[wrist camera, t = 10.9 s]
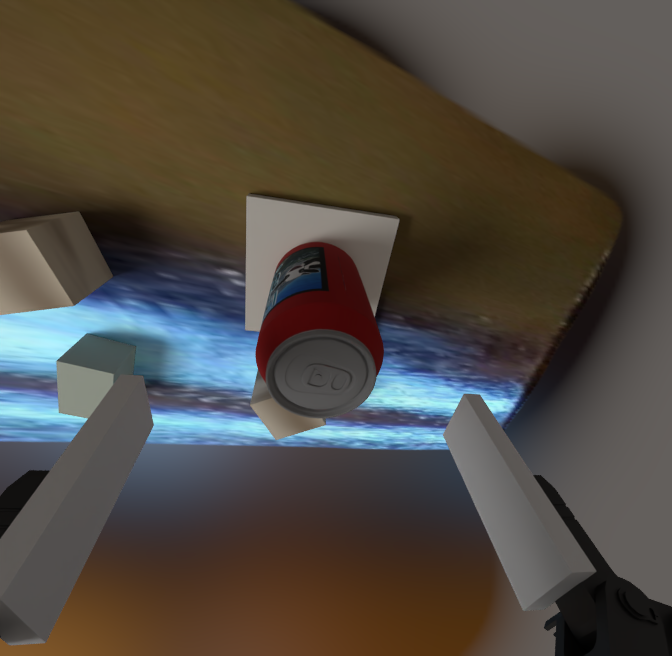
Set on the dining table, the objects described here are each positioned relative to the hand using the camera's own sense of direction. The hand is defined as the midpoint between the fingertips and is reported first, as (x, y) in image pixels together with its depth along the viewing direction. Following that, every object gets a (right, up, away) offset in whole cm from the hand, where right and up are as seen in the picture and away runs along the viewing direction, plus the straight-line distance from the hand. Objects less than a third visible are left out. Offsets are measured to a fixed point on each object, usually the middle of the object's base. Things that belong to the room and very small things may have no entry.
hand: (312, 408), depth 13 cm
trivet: (-1, +8, +13) cm, 15 cm away
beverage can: (-1, +7, +12) cm, 14 cm away
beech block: (-20, +9, +10) cm, 24 cm away
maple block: (-4, -2, +19) cm, 19 cm away
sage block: (-20, 0, +16) cm, 26 cm away
